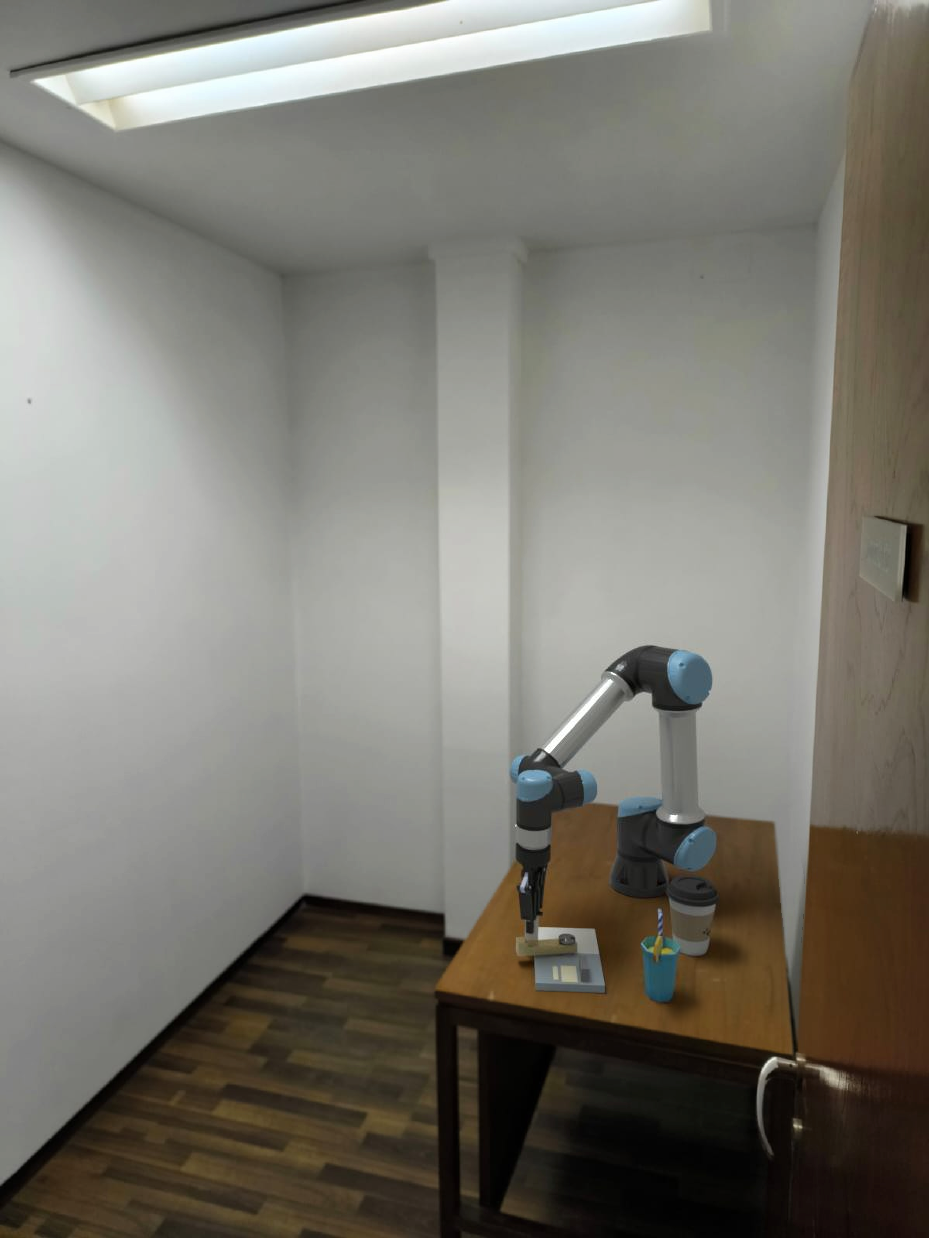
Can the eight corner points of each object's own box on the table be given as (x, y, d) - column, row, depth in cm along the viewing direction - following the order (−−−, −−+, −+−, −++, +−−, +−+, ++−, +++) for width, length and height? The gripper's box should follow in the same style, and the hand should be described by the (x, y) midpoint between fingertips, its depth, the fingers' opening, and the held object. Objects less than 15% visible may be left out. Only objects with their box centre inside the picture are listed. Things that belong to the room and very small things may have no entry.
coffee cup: (710, 966, 174) (713, 899, 172) (658, 952, 179) (660, 888, 178) (722, 942, 184) (724, 879, 182) (672, 930, 189) (674, 868, 187)
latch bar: (573, 944, 178) (573, 932, 178) (577, 953, 175) (578, 940, 174) (515, 949, 176) (515, 935, 176) (518, 957, 173) (518, 944, 173)
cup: (639, 971, 172) (641, 904, 170) (677, 975, 170) (679, 907, 169) (639, 1009, 158) (641, 937, 157) (680, 1014, 157) (683, 941, 155)
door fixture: (594, 935, 187) (594, 917, 186) (604, 992, 164) (605, 972, 164) (533, 933, 188) (533, 915, 187) (535, 990, 165) (535, 969, 164)
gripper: (527, 828, 181) (525, 926, 185) (505, 851, 170) (504, 954, 174) (559, 834, 178) (557, 933, 182) (539, 858, 167) (537, 963, 170)
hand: (531, 944), depth 178 cm, fingers closed
